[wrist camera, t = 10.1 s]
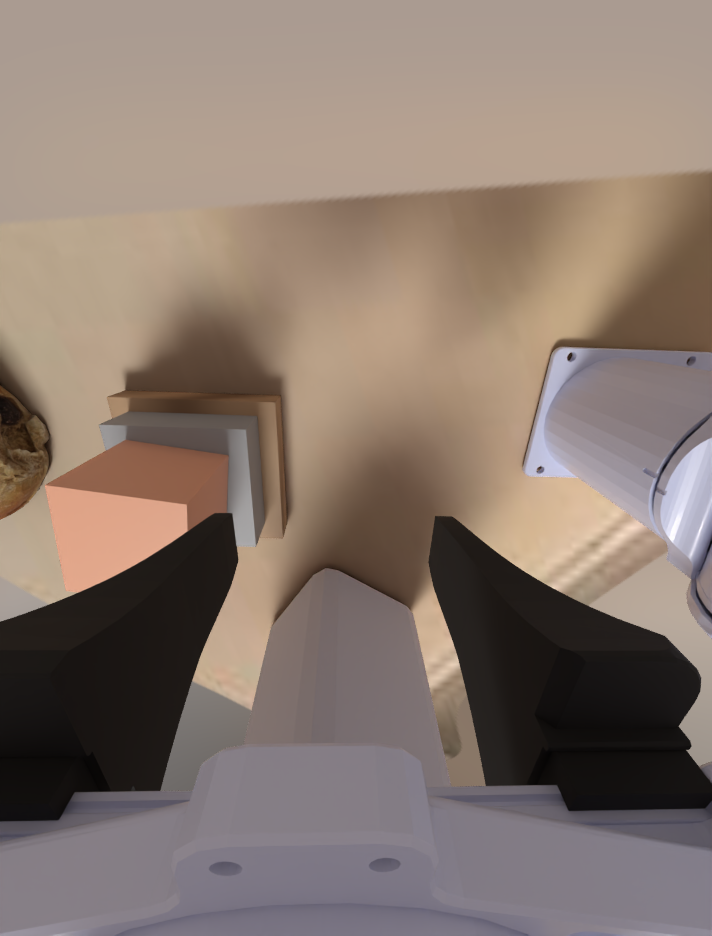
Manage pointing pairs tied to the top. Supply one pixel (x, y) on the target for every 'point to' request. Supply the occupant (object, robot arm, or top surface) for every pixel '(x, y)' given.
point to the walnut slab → (228, 404)
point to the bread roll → (20, 454)
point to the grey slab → (208, 436)
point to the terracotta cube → (131, 506)
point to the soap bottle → (347, 675)
